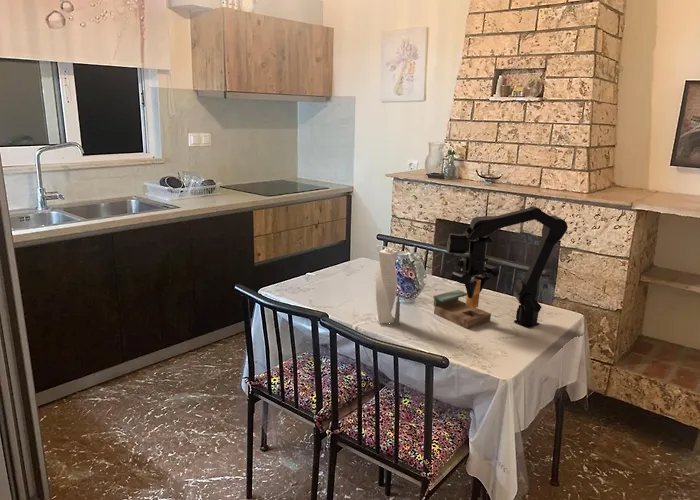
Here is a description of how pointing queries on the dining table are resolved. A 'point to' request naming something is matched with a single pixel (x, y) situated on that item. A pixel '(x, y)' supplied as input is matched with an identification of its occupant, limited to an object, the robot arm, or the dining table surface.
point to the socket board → (459, 310)
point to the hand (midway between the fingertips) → (472, 297)
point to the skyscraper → (387, 287)
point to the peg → (474, 296)
